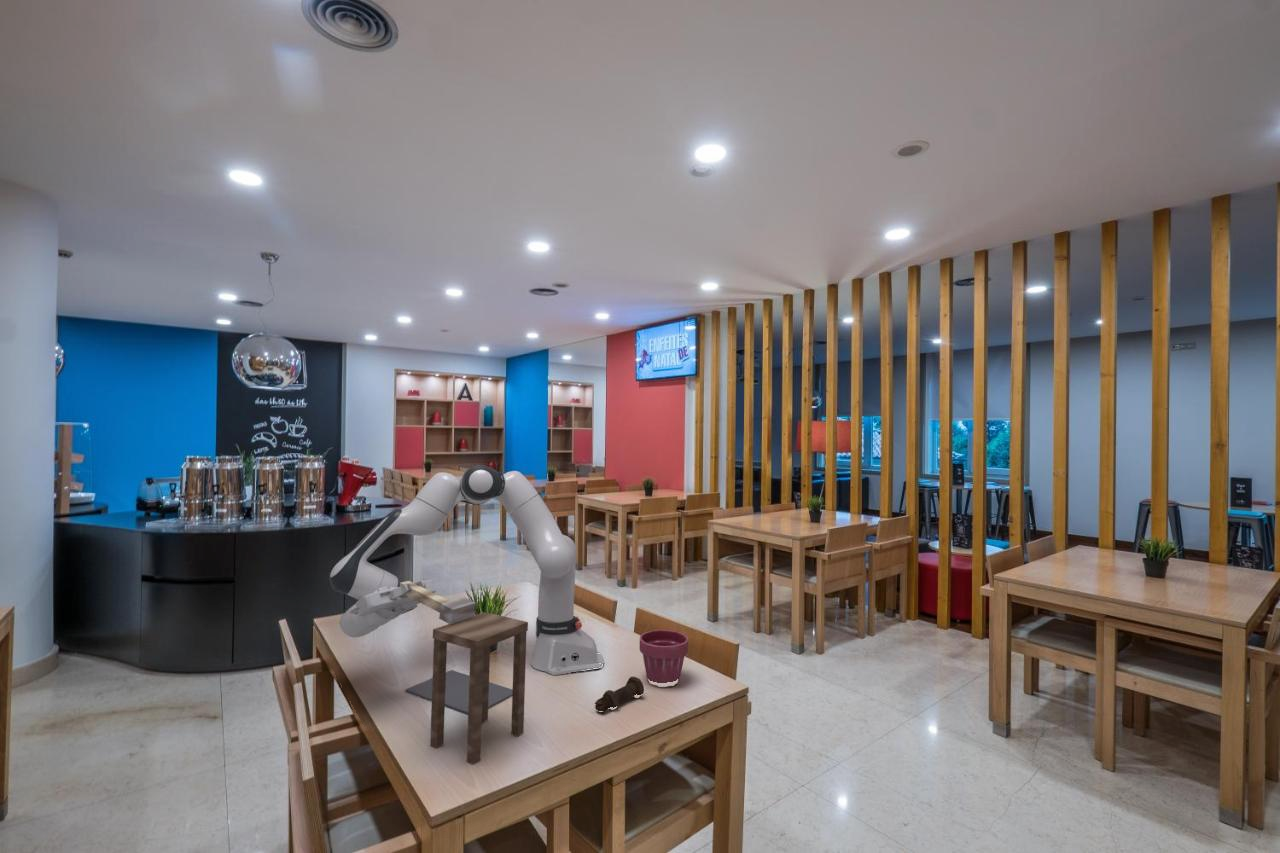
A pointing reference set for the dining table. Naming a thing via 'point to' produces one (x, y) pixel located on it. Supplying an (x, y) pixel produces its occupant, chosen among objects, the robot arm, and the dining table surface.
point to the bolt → (620, 694)
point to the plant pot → (663, 654)
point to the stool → (478, 674)
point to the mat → (459, 691)
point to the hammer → (442, 604)
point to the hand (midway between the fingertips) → (415, 585)
